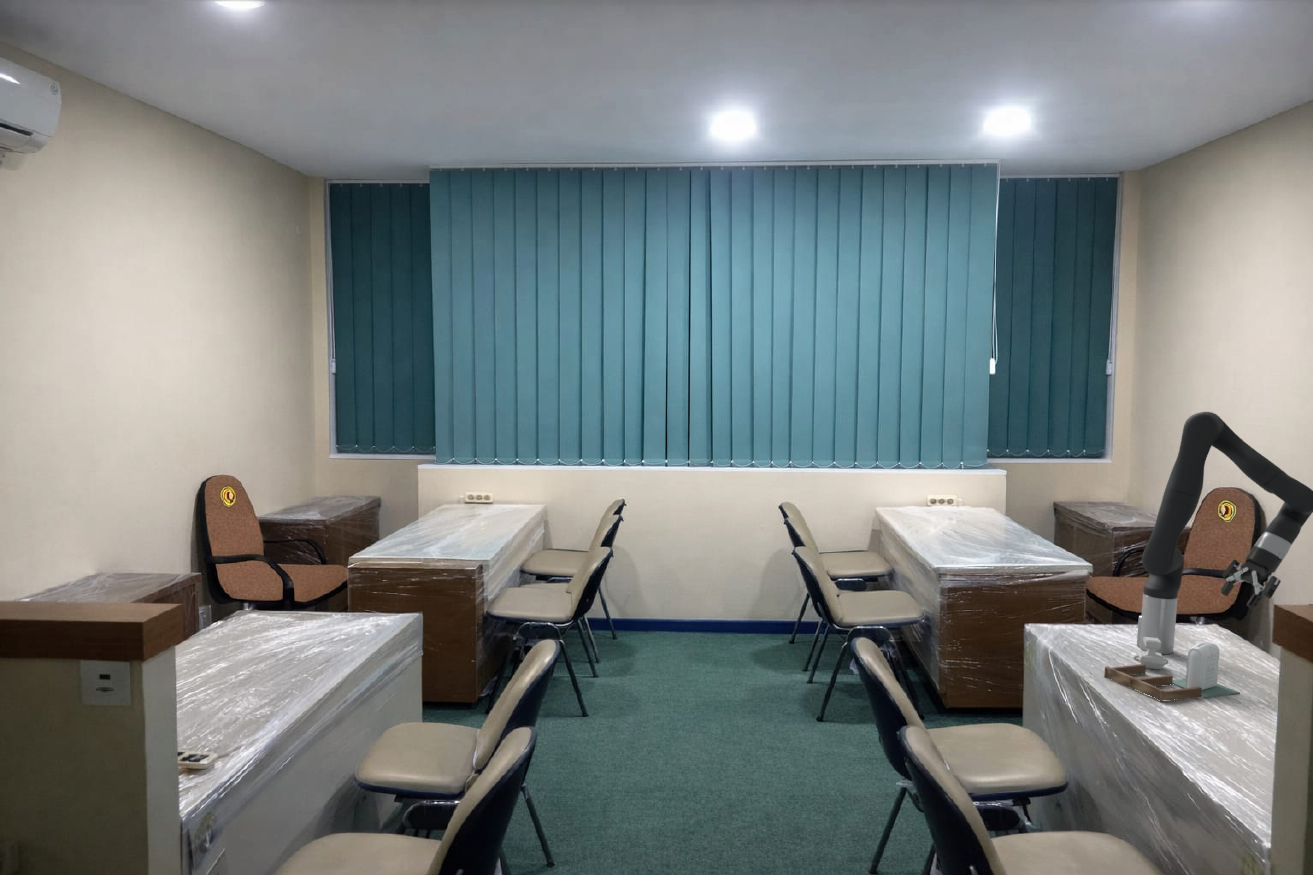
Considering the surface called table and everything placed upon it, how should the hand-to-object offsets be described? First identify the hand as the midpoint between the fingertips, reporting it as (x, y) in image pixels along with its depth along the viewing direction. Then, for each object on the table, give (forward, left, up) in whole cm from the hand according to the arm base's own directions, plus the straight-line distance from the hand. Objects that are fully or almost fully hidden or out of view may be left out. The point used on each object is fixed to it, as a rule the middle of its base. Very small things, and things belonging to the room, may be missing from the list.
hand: (1236, 600), depth 250 cm
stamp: (-13, -15, -23) cm, 30 cm away
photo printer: (+4, -16, -22) cm, 27 cm away
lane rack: (0, -28, -22) cm, 36 cm away
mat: (+4, -15, -22) cm, 27 cm away
